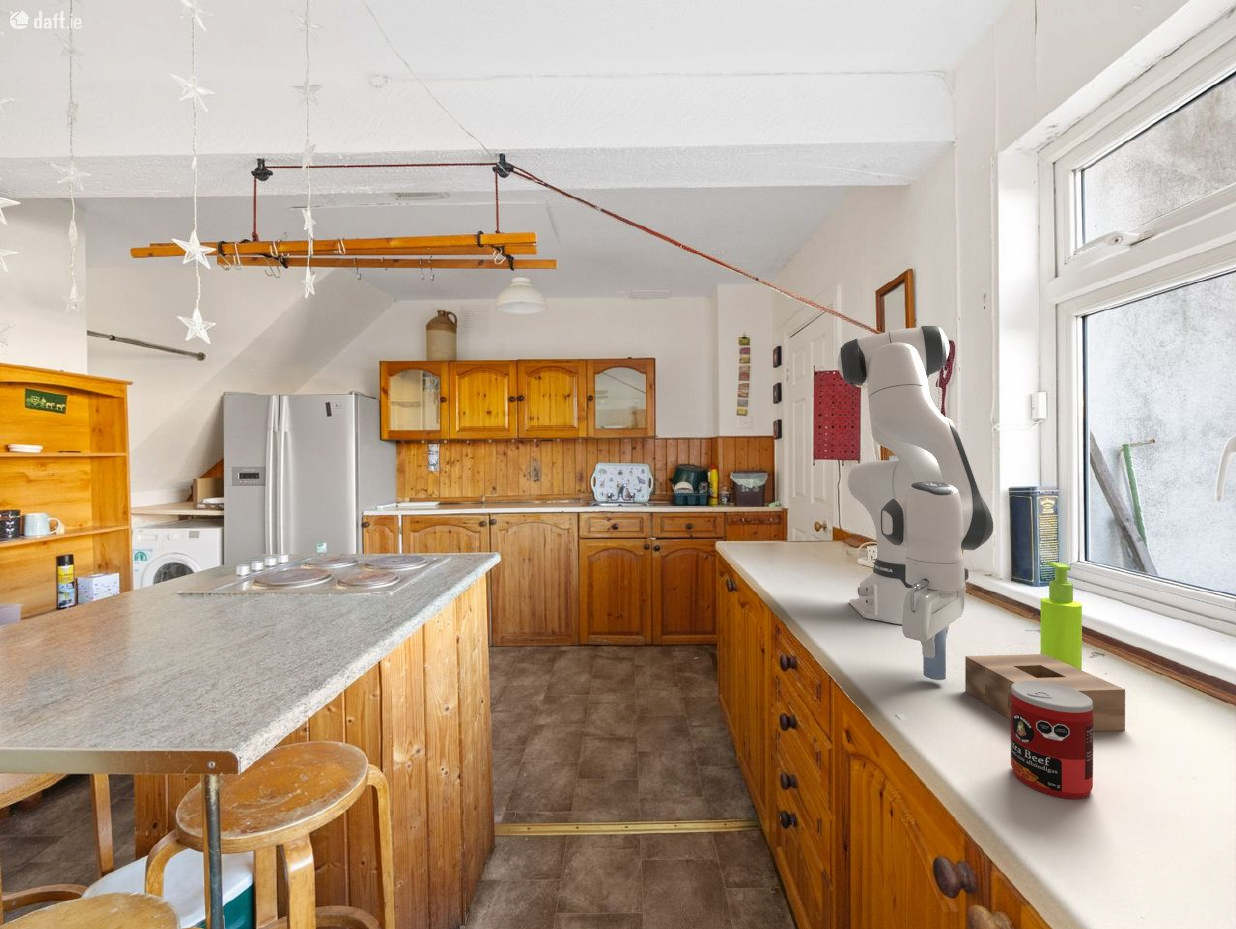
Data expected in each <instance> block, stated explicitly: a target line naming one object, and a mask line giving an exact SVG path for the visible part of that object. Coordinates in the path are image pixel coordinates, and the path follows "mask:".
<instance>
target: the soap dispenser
mask: <svg viewBox="0 0 1236 929" xmlns="http://www.w3.org/2000/svg"><path fill="white" fill-rule="evenodd" d="M1045 564H1046V566H1051V567H1053V568H1054V579H1052V580H1050V581H1049V583H1048V590H1049V591H1048V595H1049V596H1048V597H1042V598H1041V599H1040V650H1039V651H1040V653H1039V654H1045V655H1048V656H1050V657H1052V658H1055V659H1057V660H1059V661H1061V662H1064V663H1066V664H1068V665H1071V666H1073V667H1075V668H1077V669H1080V670H1082V671H1083V669H1082V668H1083V667H1082V665H1083V658H1082V656H1083V653H1082V652H1083V651H1082V650H1083V604H1082V603H1081V602H1078V601H1077V600H1074V592H1073V591H1074V585H1073V583H1072V582H1070V581H1068V571H1071V569H1072V568H1071V566H1069V565H1068V564H1066V563H1064V562H1054V561H1053V562H1051V561H1048V562H1045Z"/></svg>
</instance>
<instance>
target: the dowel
mask: <svg viewBox="0 0 1236 929" xmlns="http://www.w3.org/2000/svg"><path fill="white" fill-rule="evenodd" d="M934 643H935V646H936V647H937V651H936V653H937V655H936V656H935V657H933V658H928V657H925V656H923V655H922V656H923V658H922V659H923V664H922V665H923V667H922V668H923V676H925V677H926V678H927V679H931V680H936V681H943V680H946V678H947V674H946V673H947V668H946V667H947V658H946V656H947V655H946V653H947V651H946V650H947V638H946V627H945V628H944V629H943V630H941V631H940V632H938V633H937V634H936V635H935V639H934Z"/></svg>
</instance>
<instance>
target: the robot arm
mask: <svg viewBox="0 0 1236 929" xmlns="http://www.w3.org/2000/svg"><path fill="white" fill-rule="evenodd" d="M839 350H840V352H839V354H838V358H837V370H838V372H839V374H840V376H841V377H842V378H843V381H844V382H845V383H847V384H848V385H853V386H863V384H864V385H865V384H867V399H868V410H869V420H870V430H871V436H872V439H873V440H874V441H875V443H876V444H878V445H879V446H881V447H883V448H886V449H887V450H889V451H891V452H892V453H893V454H894V455H895V456H896V459H898V460H871V461H870V460H869V461H864V462H860V463H856V464H855V465H854V466H853V467H852V468H851V470H850V471H849V473H848V476H847V488H848V491H849V492H850V494H851V495H852V496H853V498H854V499H855V500H857V501H859V503H861V505H863V507H864V508H865V509H866V511H867V512H868V513H869V515H870V518H871V519H872V521H873V525H874V528H875V529H874V530H875V535H876V558H873V559H872V561H874V562H872V564H873V568H872V573H871V574H870V575H869V576H867V577H866V578H864V580H862V581H861V582H860V583H859V586H858V587H857V595H858V597H854V598H851V599H849V604H850V606H852V607H853V608H854V609H855V610H856V611H857V612H858V613H859V614H860V615H861V616H862V617H863V618H864V619H869V620H875V621H880V622H881V621H882V622H886V623H891V624H896V625H901V629H902V630H901V631H902V634H903V637H904V638H906V639H910V640H914V641H919V642H920V645H921V647H922V648H921V649H922V652H921V654H922V656H925V657H928V658H933V657H935V656H936V655H937V653H936V651H937V647H936V646H935V643H934V639H935V635H936V634H937V633H938V632H940V631H941V630H943V629H944V628H945V627H946V639H947V638H948V637H947V636H948V633H949V629H950V625H951V624H953V623H955V621H957V620H958V619H959V618H961V617H962V616H963V613H964V609H965V601H966V589H967V588H966V581H968V580H969V579H970V569H969V568H968V567H966V566H965V560H964V555H963V550H965V551H975V550H976V549H979V548H981V546H983V545H984V544H985V543H986V542H987V541H988V540H989V539H990V538H991V536H992V535H993V531H994V520H993V515H992V513H991V511H990V509H989V507H988V505H987V503H986V501H985V500H984V498H983V496H982V494H981V492H980V490H979V487H978V484H977V481H976V478H975V475H974V473H973V470H972V467H971V465H970V462H969V458H968V456H967V452H966V450H965V448H964V445H963V441H962V440H961V437H960V434H959V432H958V430H957V428H956V426H955V424H954V422H953V421H952V420H951V419H950V418H948V417H947V416H945V415H943V414H942V412H940V410H939V409H938V408H937V407H936V405H935V403H934V402H933V400H932V397H931V395H930V388H929V382H928V379H927V378H929V376H931V375H933V374H935V373H937V372H939V371H941V369H942V368H943V367H945V365H947V360H948V357H949V353H950V343H949V340H948V337H947V336H946V334H945V333H944V331H943V329H942V328H941V327H939V325H938V326H937V325H921V326H920V327H910V328H907V327H906V328H899V329H894V330H893V329H891V330H888V331H886V332H882V333H878V334H873V335H870V336H866V337H863V338H862V337H861V338H859V339H858V338H855V339H851V340H849V341H847V342H845V343H844V344H843V345H842V346H841V347H840V349H839Z"/></svg>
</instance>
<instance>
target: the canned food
mask: <svg viewBox="0 0 1236 929" xmlns="http://www.w3.org/2000/svg"><path fill="white" fill-rule="evenodd" d="M1093 722H1094V717H1093V702H1092V700H1091V698H1089V697H1088V696H1087V695H1085V694H1083V693H1081V692H1079V691H1076V690H1074V689H1071V688H1068V687H1065V686H1062V685H1057V684H1053V683H1048V682H1041V681H1019V682H1015V683H1013V684H1012V686H1011V720H1010V766H1011V769H1012V772H1013V774H1014V777H1016V778H1017V779H1018V780H1019V781H1020V782H1021V783H1022V784H1024V785H1025V786H1028V787H1029V788H1031V789H1034V790H1035V791H1038V792H1040V793H1043V794H1046V795H1047V796H1052V797H1056V798H1059V799H1060V798H1061V799H1067V800H1069V799H1070V800H1081V799H1083V798H1087V797H1089V796H1090V794H1091V792H1092V790H1093V788H1094V731H1093Z"/></svg>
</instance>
